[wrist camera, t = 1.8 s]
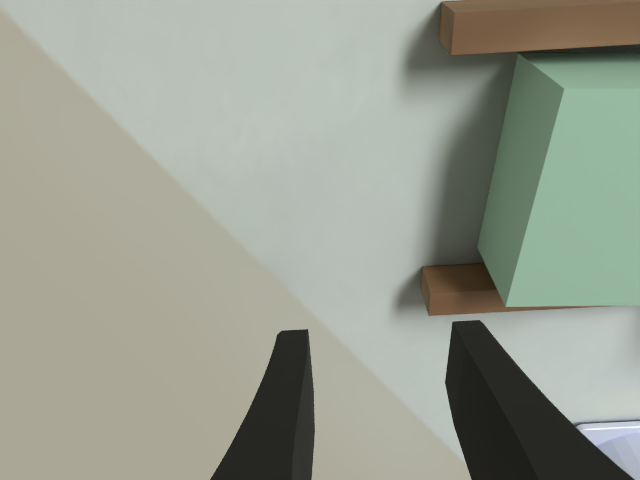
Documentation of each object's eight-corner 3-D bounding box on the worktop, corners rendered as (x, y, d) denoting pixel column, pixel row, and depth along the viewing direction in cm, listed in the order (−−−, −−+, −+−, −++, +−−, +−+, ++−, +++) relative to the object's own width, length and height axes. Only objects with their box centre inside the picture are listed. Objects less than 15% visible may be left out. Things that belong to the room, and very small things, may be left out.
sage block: (591, 243, 22) (641, 305, 19) (475, 244, 22) (505, 306, 19) (660, 51, 18) (741, 88, 14) (516, 51, 18) (564, 88, 14)
